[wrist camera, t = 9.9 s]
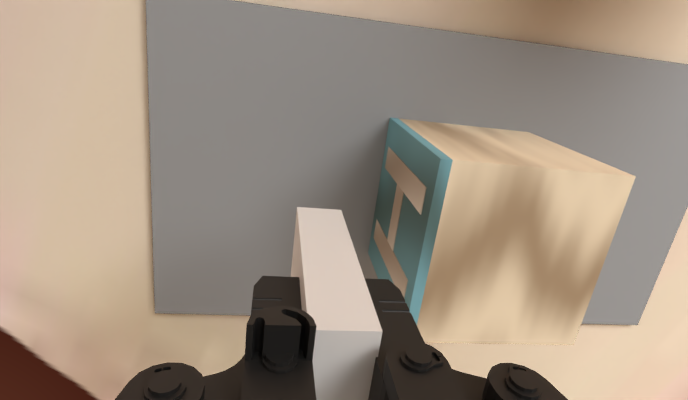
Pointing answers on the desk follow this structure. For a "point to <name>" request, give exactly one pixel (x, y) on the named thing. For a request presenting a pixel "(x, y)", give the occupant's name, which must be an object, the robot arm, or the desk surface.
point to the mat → (376, 137)
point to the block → (492, 231)
